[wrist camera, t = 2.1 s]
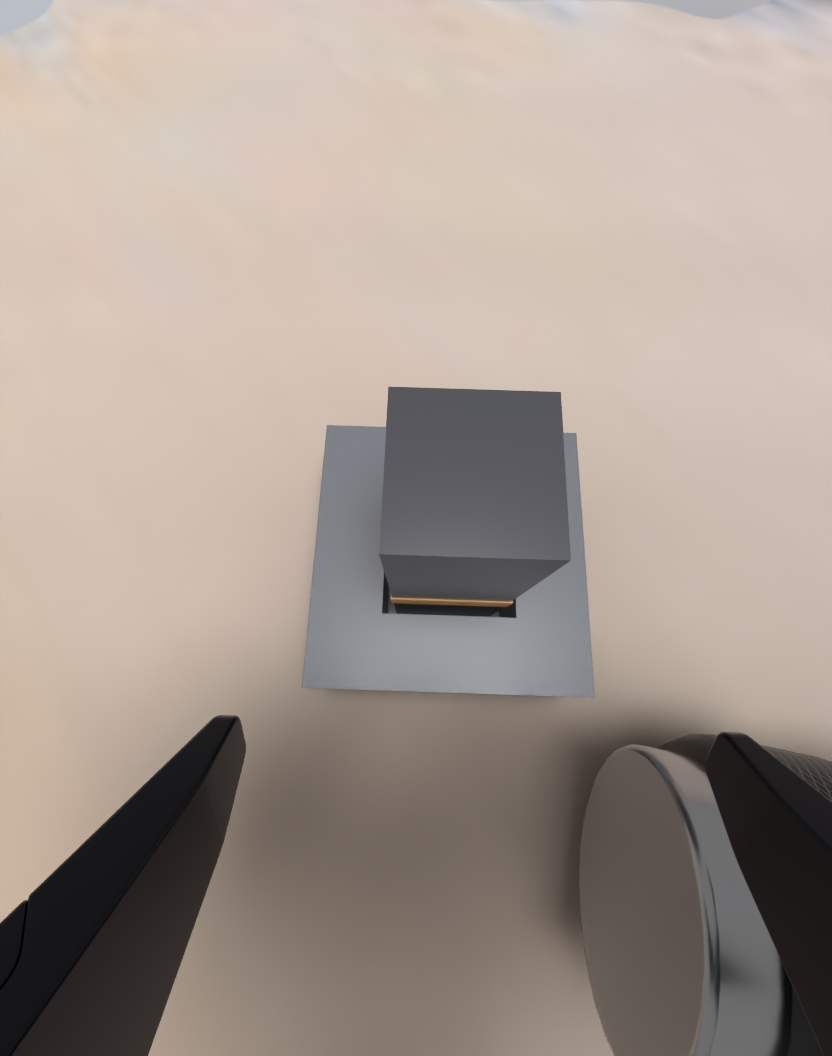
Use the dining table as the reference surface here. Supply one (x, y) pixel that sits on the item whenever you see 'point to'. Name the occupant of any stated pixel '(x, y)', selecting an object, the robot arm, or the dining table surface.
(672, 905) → the black cylindrical piece
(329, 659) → the socket block
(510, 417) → the plug
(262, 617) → the dining table surface
